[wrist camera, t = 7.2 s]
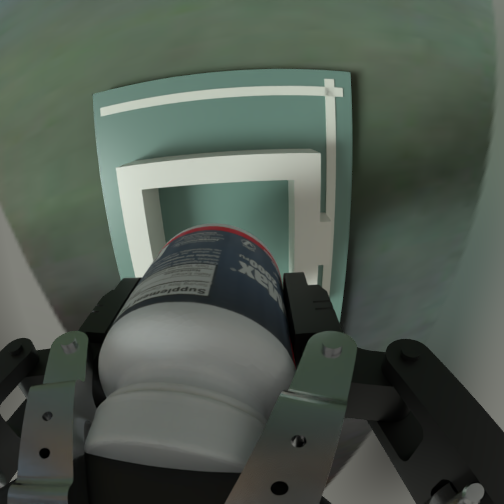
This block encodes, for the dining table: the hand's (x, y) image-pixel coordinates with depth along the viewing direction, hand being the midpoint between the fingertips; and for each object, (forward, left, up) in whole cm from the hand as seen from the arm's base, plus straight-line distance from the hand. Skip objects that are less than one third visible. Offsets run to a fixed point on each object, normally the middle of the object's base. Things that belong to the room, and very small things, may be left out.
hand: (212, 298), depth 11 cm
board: (0, 0, -7) cm, 7 cm away
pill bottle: (0, 0, -2) cm, 2 cm away
